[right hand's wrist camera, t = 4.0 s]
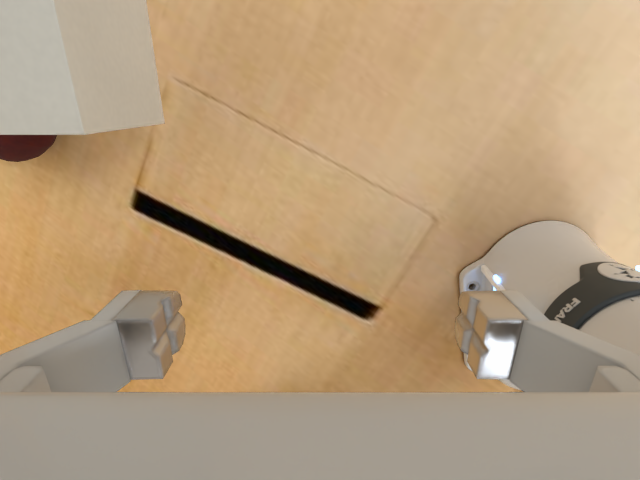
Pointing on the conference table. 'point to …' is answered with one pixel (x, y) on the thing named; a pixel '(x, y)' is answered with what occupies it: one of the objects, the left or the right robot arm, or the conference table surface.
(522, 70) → the conference table surface
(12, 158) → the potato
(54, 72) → the box
